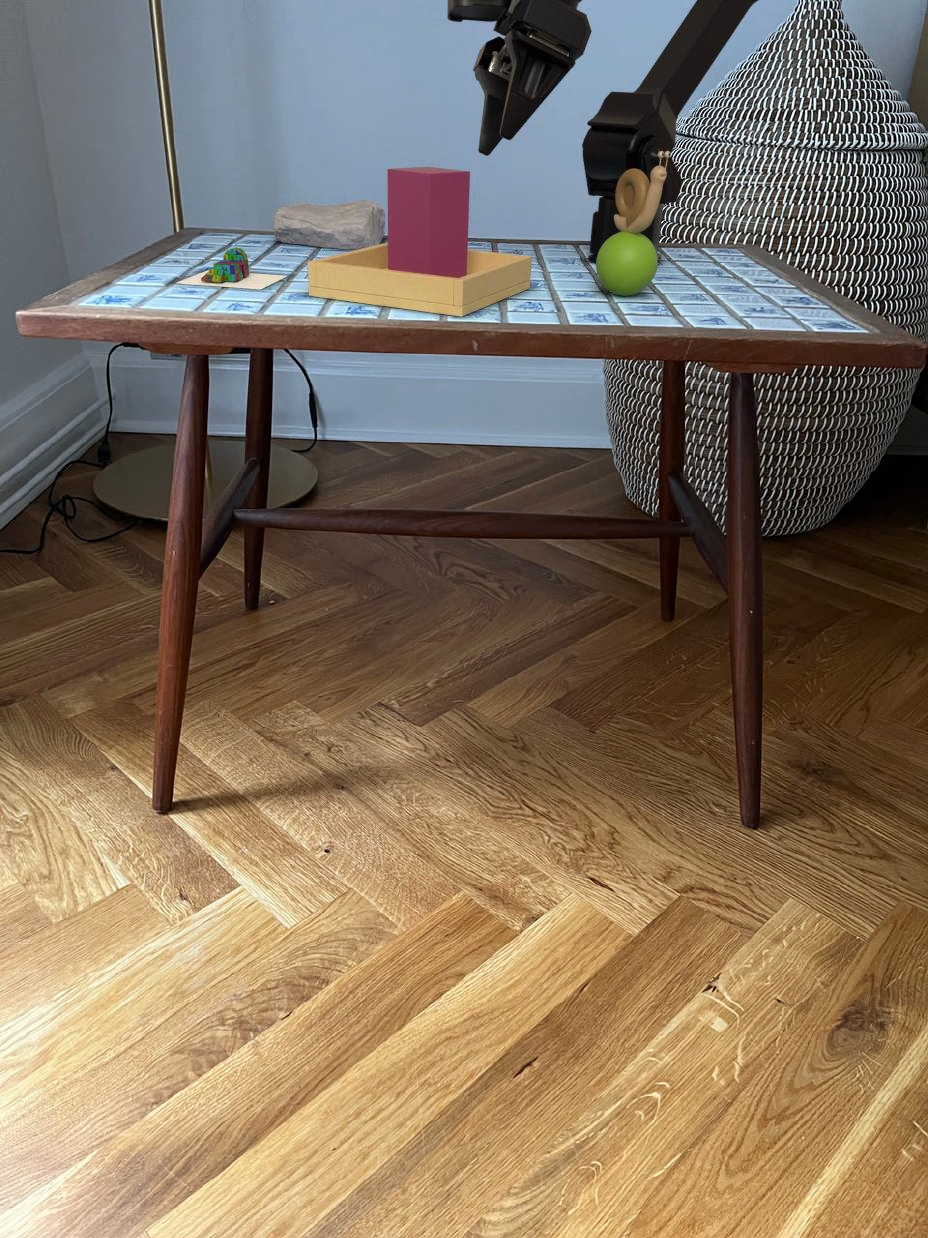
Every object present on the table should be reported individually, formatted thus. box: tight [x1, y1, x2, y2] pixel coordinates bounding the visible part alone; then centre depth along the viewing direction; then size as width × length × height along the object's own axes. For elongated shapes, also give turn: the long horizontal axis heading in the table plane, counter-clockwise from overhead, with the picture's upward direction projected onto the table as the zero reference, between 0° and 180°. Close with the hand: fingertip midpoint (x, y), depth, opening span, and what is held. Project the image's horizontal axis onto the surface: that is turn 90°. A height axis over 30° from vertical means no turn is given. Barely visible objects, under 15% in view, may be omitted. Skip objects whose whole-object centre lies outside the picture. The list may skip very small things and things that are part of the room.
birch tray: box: [307, 241, 533, 318], centre depth 84 cm, size 15×15×3 cm
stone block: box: [273, 199, 386, 251], centre depth 107 cm, size 12×5×10 cm
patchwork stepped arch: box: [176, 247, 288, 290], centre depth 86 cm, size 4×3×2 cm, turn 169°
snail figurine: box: [595, 151, 672, 297], centre depth 83 cm, size 5×6×12 cm
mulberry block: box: [386, 166, 471, 278], centre depth 83 cm, size 5×5×9 cm
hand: (493, 146), depth 87 cm, fingers open, 9 cm apart
